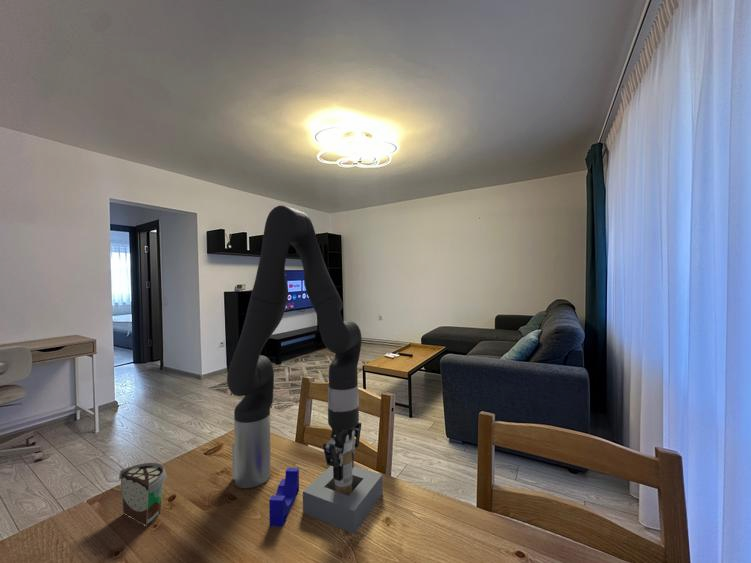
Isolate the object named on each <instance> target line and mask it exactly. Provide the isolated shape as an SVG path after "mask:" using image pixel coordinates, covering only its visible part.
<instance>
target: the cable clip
mask: <svg viewBox="0 0 751 563" xmlns="http://www.w3.org/2000/svg"><path fill="white" fill-rule="evenodd" d="M299 475H300V467H287V468H286V469H285V477H284V478H282V479H281V480H280V482H279V483H278V485H277V490H276V493H275V495H274V494H273V495H270V497H269V502H268V503H269V510H268V511H269V527H284V525H285V522H286V520H287V518H288V516H289V514H290V511H291V509H292V507H293V505H294V503H295V500H296V499H297V496H298V493H299V492H300V476H299Z"/></svg>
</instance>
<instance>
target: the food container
mask: <svg viewBox="0 0 751 563" xmlns="http://www.w3.org/2000/svg"><path fill="white" fill-rule="evenodd" d="M167 476H168V475H167V472H166V468H165V467H164V465H163V464H161V463H159V462H143V463H138V464H135V465H132V466H128V467H126V468H123V469H121V470H120V471H119V477H118V479H119V480H120V487H121V488H120V490H121V491H120V492H121V504H122V514H123V513H125V514H127V515H128V516H131V517H132V518H134V520H136V521H137V522H136V521H135V522H136V523H138V522H139V523H138V524H140V523H141V524H145V525H146V526H148V525H149V526H151V525H152V524H153V523H154V522H155V521H156V520H157V519H158V518H159V516H160V515H161V509H162V508H161V507H162V500H163V499H162V496H163V485H164V483H165V482H166V480H167ZM159 514H160V515H159ZM158 515H159V516H158ZM157 517H158V518H157ZM156 518H157V519H156ZM155 519H156V520H155ZM134 520H133V521H134ZM154 520H155V521H154ZM153 521H154V522H153ZM152 522H153V523H152ZM151 523H152V524H151ZM141 524H140V525H141ZM150 524H151V525H150ZM149 526H148V527H149Z"/></svg>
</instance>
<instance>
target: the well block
mask: <svg viewBox="0 0 751 563" xmlns="http://www.w3.org/2000/svg"><path fill="white" fill-rule="evenodd" d="M383 481H384V478H383V474H381V473H379V472H376V471H373V470H369V469H366V468H362V467H359V466H356V465H354V468H353V469H352V491H353V492H352V493H351V494H350V495H349V496H348V495H345V494H342V493H340V492H337V491H335V479H334V477H333V466H330V465H329V467H328V468H327V469H325V471H323V472H322V473H321V474H320V475H318V477H317V478H316V479H315V480H313V482H312V483H310V484H309V485H308V486H307V487H306V488H304V490H302V513H303V514H305V515H307V516H309V517H311V518H314V519H317V520H320V522H321V521H322V522H325V523H326V524H329V525H331V526H333V527H336V528H339V529H341V530H342V531H346V532H348V533H350V534H353V535H355V534H356V533H357V531H358V530H359V529H360V527H361V526H362V524H363V523H364V521H365V520H366V518H367V517H368V515H369V514H370V513H371V512H372V510H373V508H374V507H376V505H377V504H378V501H380V498H381V497H382V496H383V493H384V492H383V491H384V490H383V486H384V485H383Z"/></svg>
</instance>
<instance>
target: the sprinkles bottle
mask: <svg viewBox="0 0 751 563" xmlns="http://www.w3.org/2000/svg"><path fill="white" fill-rule="evenodd" d="M335 447H336V446H335ZM352 447H353V443H352V440H351V439H350V440H349V441H348V442H347V448H346V454H345V455H344V456H343V463H342V464H343V479H342V480H341V481H338V480H335V491H337V492H340V493H342V494H345V495H348V496H349V495H350V494H351V493H352V492H353V491H352ZM336 450H339V451H342V449H340V448H337V447H336ZM337 459H339V455H338V454H337Z"/></svg>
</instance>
